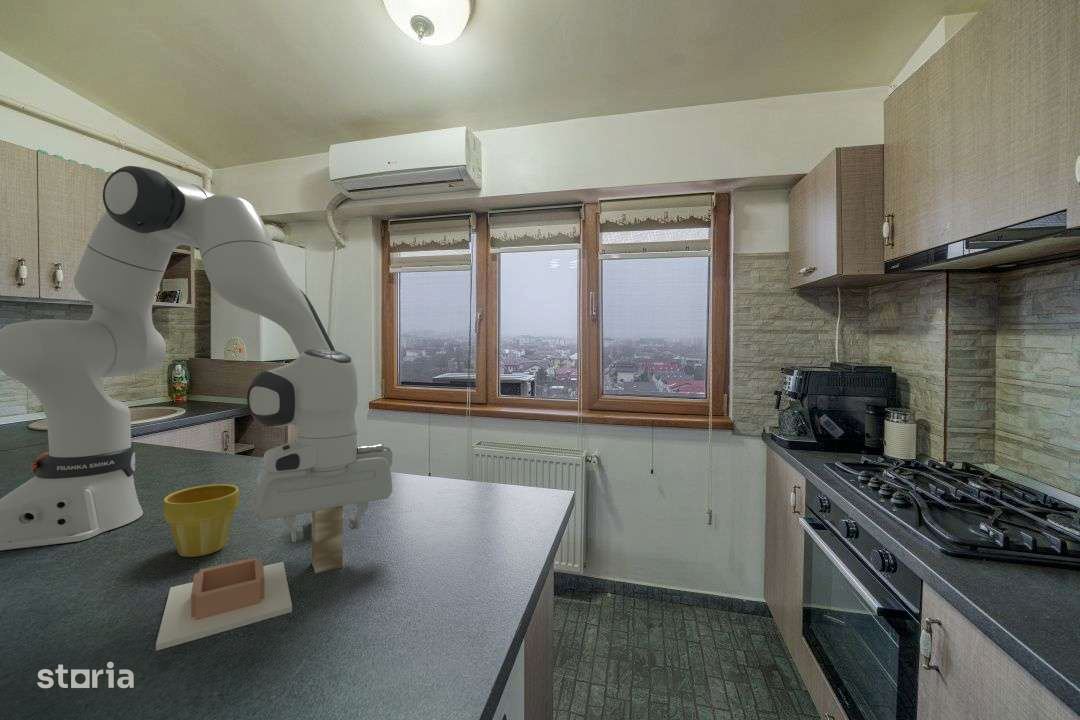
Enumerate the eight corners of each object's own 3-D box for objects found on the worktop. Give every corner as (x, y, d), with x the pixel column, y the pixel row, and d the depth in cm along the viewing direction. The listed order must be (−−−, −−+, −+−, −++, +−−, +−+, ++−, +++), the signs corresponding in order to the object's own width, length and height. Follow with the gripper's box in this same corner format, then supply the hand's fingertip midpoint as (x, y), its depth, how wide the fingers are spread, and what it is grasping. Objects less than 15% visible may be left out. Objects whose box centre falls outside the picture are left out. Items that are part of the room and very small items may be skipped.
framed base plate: (155, 650, 52) (155, 619, 51) (170, 592, 63) (170, 566, 63) (292, 611, 60) (292, 584, 59) (283, 566, 71) (283, 543, 71)
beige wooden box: (315, 573, 69) (315, 511, 69) (311, 562, 73) (311, 503, 72) (342, 566, 72) (343, 506, 71) (337, 556, 75) (338, 498, 74)
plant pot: (198, 534, 82) (197, 482, 81) (252, 536, 81) (252, 484, 81) (146, 562, 71) (145, 502, 71) (208, 564, 71) (208, 505, 71)
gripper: (387, 439, 80) (386, 514, 80) (252, 453, 68) (252, 541, 69) (398, 447, 74) (396, 527, 75) (254, 463, 63) (254, 558, 64)
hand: (327, 534), depth 72 cm, fingers open, 7 cm apart
